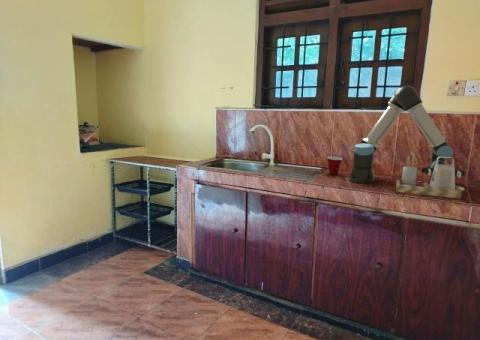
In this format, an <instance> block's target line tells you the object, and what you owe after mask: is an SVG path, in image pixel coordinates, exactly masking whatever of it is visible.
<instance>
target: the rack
mask: <svg viewBox="0 0 480 340" xmlns="http://www.w3.org/2000/svg"><path fill="white" fill-rule="evenodd" d="M423 185H424V186H418V185H415V186H410V185H401V184H400V179H396V183H395V192H396V193H404V194H405V193H406V194H415V195H422V196H423V195H424V196H433V197H441V198H442V197H443V198H450V199H451V198H452V199H460V200H461V199H462V195H463V194H462V193H463V191H461V189H460V188H459V187H460V186H459V187H458V185H457V184H455V190H451V189H441V188H431V187H429V185H430V184H429V183H428V182H426V181H424V184H423Z"/></svg>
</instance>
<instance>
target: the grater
mask: <svg viewBox="0 0 480 340" xmlns="http://www.w3.org/2000/svg"><path fill="white" fill-rule="evenodd" d="M439 158H440V157H438V158H437V160H436V164H435V166H434V170H433V172H432V173H431V178H430V182H429V184H428V185H429V187H431V188H441V189H451V190H455V185H456V180H455V179H456V177H455V176H456V175H455V168H456V167H455V159H454V157H452V156H451V157H442V158H448V159H452V161H451V163H445V164H438V159H439Z"/></svg>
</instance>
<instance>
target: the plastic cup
mask: <svg viewBox="0 0 480 340" xmlns="http://www.w3.org/2000/svg"><path fill="white" fill-rule="evenodd" d="M326 159H327V166H328V167H327V168H328V174H329V173H330V174H329V175H333V174H336V175H338V174H339V170H340V168H341V163H342V160H343V158H342V157H339V156H330V155H329V156H327V157H326Z"/></svg>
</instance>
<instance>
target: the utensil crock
mask: <svg viewBox="0 0 480 340" xmlns="http://www.w3.org/2000/svg"><path fill="white" fill-rule="evenodd" d="M415 157H416V154H415V153H414V154H413V155H412V160H410V158H411V157H410V155H408V156H407V162H406V166H403V167H402V175H401V184H400V185H410V186H416V183H417V176H418V175H417V174H418V167H416V166H415ZM410 161H412V162H411V166H410Z"/></svg>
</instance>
